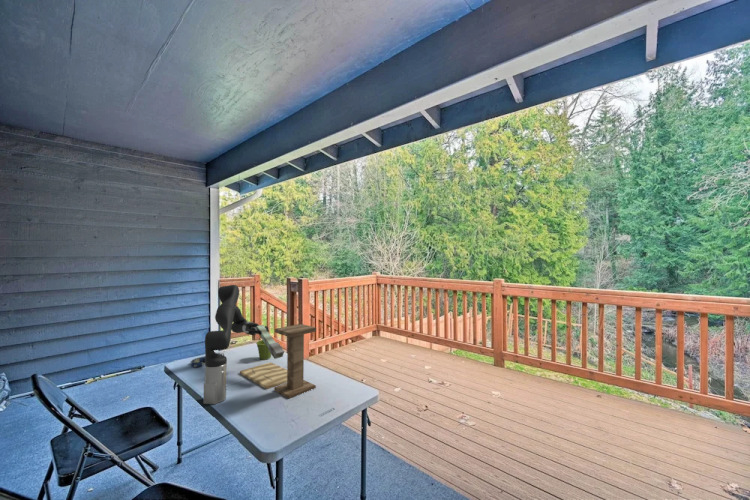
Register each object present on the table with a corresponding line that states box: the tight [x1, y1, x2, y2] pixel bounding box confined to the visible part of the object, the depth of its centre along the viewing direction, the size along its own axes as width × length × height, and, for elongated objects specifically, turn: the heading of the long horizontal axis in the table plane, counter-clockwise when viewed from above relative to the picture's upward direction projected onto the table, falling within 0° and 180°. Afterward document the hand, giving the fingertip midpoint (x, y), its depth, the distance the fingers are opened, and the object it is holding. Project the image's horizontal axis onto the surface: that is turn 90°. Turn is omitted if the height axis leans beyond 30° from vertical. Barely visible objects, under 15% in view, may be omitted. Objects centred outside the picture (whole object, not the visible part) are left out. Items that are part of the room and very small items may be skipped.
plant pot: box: [255, 339, 272, 361], centre depth 206 cm, size 12×12×11 cm
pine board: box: [239, 361, 287, 390], centre depth 175 cm, size 32×20×2 cm, turn 48°
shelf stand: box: [273, 323, 317, 400], centre depth 158 cm, size 14×16×32 cm
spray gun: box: [190, 352, 225, 368], centre depth 197 cm, size 21×4×15 cm
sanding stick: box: [256, 324, 285, 360], centre depth 176 cm, size 26×5×4 cm, turn 48°
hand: (264, 332), depth 180 cm, fingers closed on sanding stick, 4 cm apart
